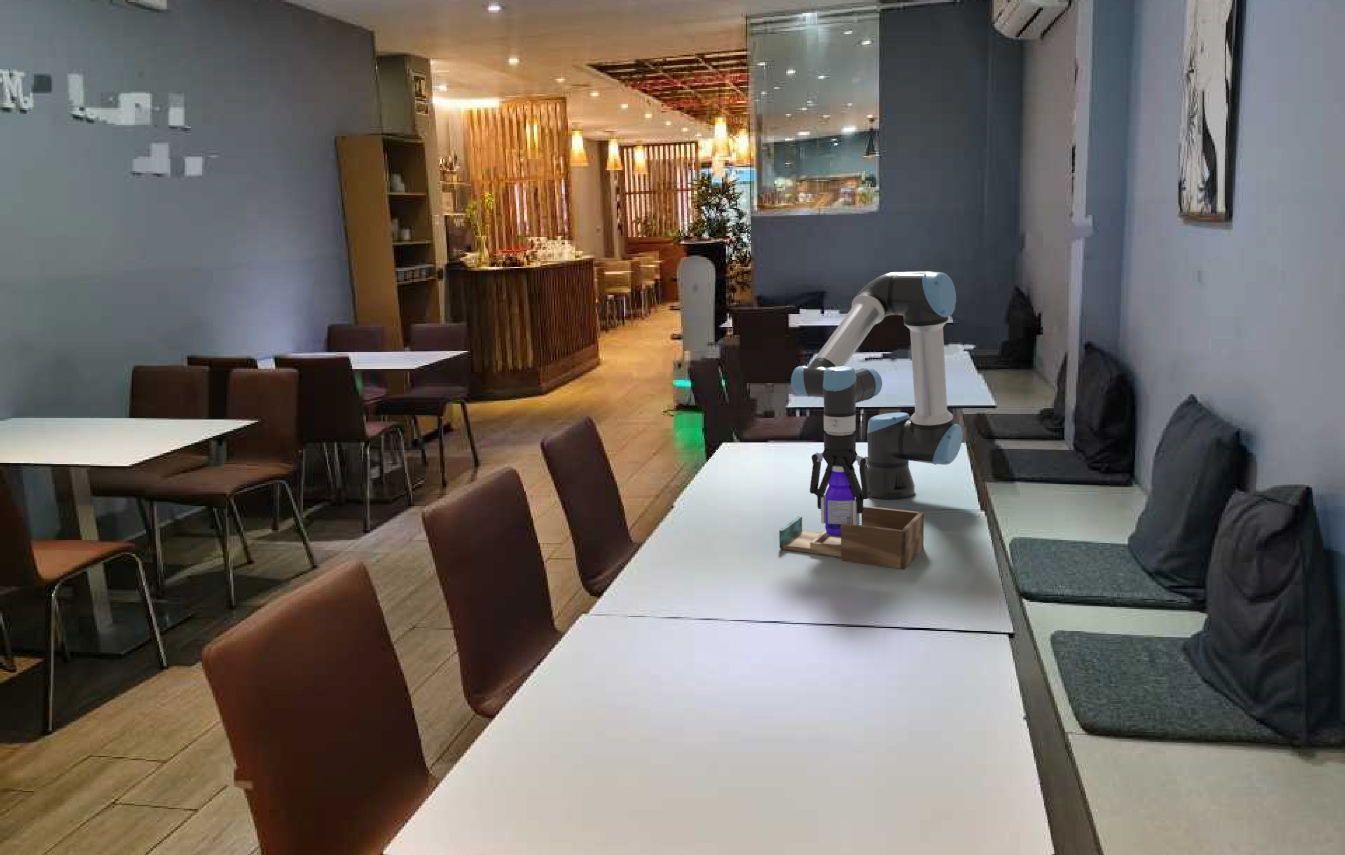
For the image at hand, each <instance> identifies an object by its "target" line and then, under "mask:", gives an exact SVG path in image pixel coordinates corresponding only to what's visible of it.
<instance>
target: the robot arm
mask: <svg viewBox="0 0 1345 855" xmlns="http://www.w3.org/2000/svg"><path fill="white" fill-rule="evenodd" d="M956 303H957V294H956V287H955V285H954V282H953V280H952V278H950V276H949V275H948V274H947V273H945V272H942V271H941V272H940V271H939V272H938V271H931V270H927V271H926V270H925V271H892V272H891V271H890V272H886V273H885V274H882V275H880V276H877V277H876V278H874V279H873V280H871V281H870V282H869V283H867V284H866V285H865V286H864V287H863V288H862V289H861V290H860V291H859V292H858V293H857V294H856V295H855V296H854V297H853V299H852V301H851V309H850V310H849V311H847V314H846V315H845V316H844V318H843V319H842V321H841V322H840V323H839V325H838V326H837V327H836V329H835V330H834V331H833V333H832V334H831V336H829V338H828V339H827V341H826V342H825V343H824V345H823V346H822V348H821V349H820V350H819V352H818V353H817V355H816V356H815V357H814V359H813V360H812V361H811V362H810V364H809V365H799V366H797V367H795V368H794V370H793V372H792V374H791V377H790V385H791V388H792V390H793V392H794V393H795V394H796V395H798V396H799V395H800V396H803V397H809V398H810V397H812V398H822V399H823V430H824V433H823V452H820V453H819V452H815V453H813V454H812V455H811V461H812V468H811V470H812V471H811V475H810V476H811V478H810V484H809V486H810V487H809V493H810V494H812V495H813V494H814V495H815V496H816V497H817V498H816V499H817V500H816V501H817V503H816V504H817V509H819V510H820V522H821V524H825V494H826V491H827V489H828V487H829V484H828V481H829V480H830V477H831V473H832V466H843V469H844V472H845V474H846V475H847V477H848V480H849V482H850V485H851V488H852V490H853V493H854V495H855V500H853V524H854V525H861V524H860V520H861V519H860V518H861V517H860V514H861V515H862V512H863V506H864V500H867V499H869V498H875V499H883V500H885V499H887V500H889V499H890V500H891V499H892V500H893V499H903V498H909V497H911V496H913V495H914V494H915V483H914V479H913V476H912V473H911V469H910V464H909V463H910V462H909V461H911V462H917V463H923V464H924V463H925V464H931V465H932V464H933V465H944V466H945V465H946V466H947V465H950V464H951V463H953V462H954V461H955V459H956V458H957V457H958V455H959V452H960V450H961V447H962V442H963V429H962V426H961V425H960V424H957V423H955V422H954V414H953V413H951V412H950V411H949V410H948V402H947V399H948V398H947V384H946V383H947V382H946V363H945V362H946V361H945V345H944V343H945V342H944V326H945V325H946V324H947V323H948V322H949V317H950V316H952V315H953V314H954V311H955V309H956ZM888 316H903V317H902V318H903V324H904V326H906V328H908V329H909V334H910V349H911V364H912V365H911V366H912V379H913V398H914V412H913V414H912V415H911V416H910V414H909V413H907V412H890V413H883V414H877V415H874V416H872V417H870V418H869V419H868V422H867V431H866V434H867V456H861V455H858V453H857V450H856V448H857V444H856V443H857V438H856V437H857V435H856V432H855V431H856V429H857V427H856V426H857V422H856V420H857V419H856V418H857V415H856V408H857V406H856V405H857V403H860V402H863V401H869V400H871V399H873V398H874V397H877V396H878V395H879V394H880V392H881V390H882V388H883V379H882V376H881V375H880V373H879V372H878V371H877V370H875V369H873V368H870V367H867V368H863V367H862V368H859V369H855V368H854V367H853V366H851V367H850V366H846V365H847V364H848V362H849V361H850V359H851V358H852V357H853V355H854V354H855V352H856V351H857V350H858V349H859V347H860V346H861V344H862V343H863V342H864V340H865V339H866V337H867V336H868V334H869V333H870V332H871V330H872V329H873V327H874V326H875V325H877V324H880V323H881V322H882V321H883V320H884V319H885V318H886V317H888ZM823 459H824V461H825V463H826V464H827V465H826V467H825V470H824V475H823V477H822V479H821V482H820V475H821V466H822V461H823ZM855 462H857V465H858V466H859V476H860V482H859V480H858V477H857V474H856V471H855V467H854V463H855ZM819 482H820V484H819ZM860 484H861V485H860Z"/></svg>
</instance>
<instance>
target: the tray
mask: <svg viewBox="0 0 1345 855" xmlns="http://www.w3.org/2000/svg"><path fill="white" fill-rule="evenodd" d="M778 536H779V538H778V539H779V549H781V550H787V551H796V552H803V553H809V554H810V553H811V554H817V555H826V556H834V557H839V558H840V557H841V536H831V535H829V534H827V532H826V529H825V530H823V531H822V532H819V531H810V530H804V529H803V516H796V518H794V519H793V520H792V521H790V522H789V523H787V524H786V525H785V526H783V527H782V528H780V529H779V531H778Z"/></svg>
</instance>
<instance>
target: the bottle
mask: <svg viewBox="0 0 1345 855" xmlns="http://www.w3.org/2000/svg"><path fill="white" fill-rule="evenodd" d="M825 492H826V493H825V494H824V495H825V523H824V524H825V525H824V529H825V530H826V532H827V534H829V535H831V536H841V524H842V523H846V524H853V500H855V499H856V498H855V495H854V493H853V490H852V488H851V485H850V482H849V480H848V477H847V475H846V474H845V472H844V469H843V466H832V473H831V477H830V480H829V481H828V486H827V488H826V491H825Z"/></svg>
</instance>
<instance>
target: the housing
mask: <svg viewBox="0 0 1345 855" xmlns="http://www.w3.org/2000/svg"><path fill="white" fill-rule="evenodd" d="M924 515H925V514H924V512H922V511H913V510H905V509H904V510H903V509H896V508H887V507H886V508H885V507H877V506H868V505H867V506H866V505H863V512H862V513H861V524H859V525H854V524H846V523H842V524H841V558H840V561H841V562H848V563H853V564H854V563H855V564H861V565H863V564H864V565H869V566H877V567H885V568H892V569H897V570H899V569H900V570H906V569H907V568H908V566H909V565H910V564H911V563H912V561H914V559H915V558H916V557H918V555H919V554H920V553H921V551H922V550H923V549H924V541H925V540H924V538H925V537H924V536H925V535H924V533H925V532H924V531H925V530H924V529H925V528H924V527H925V526H924V522H925V519H924V518H925V516H924Z"/></svg>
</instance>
